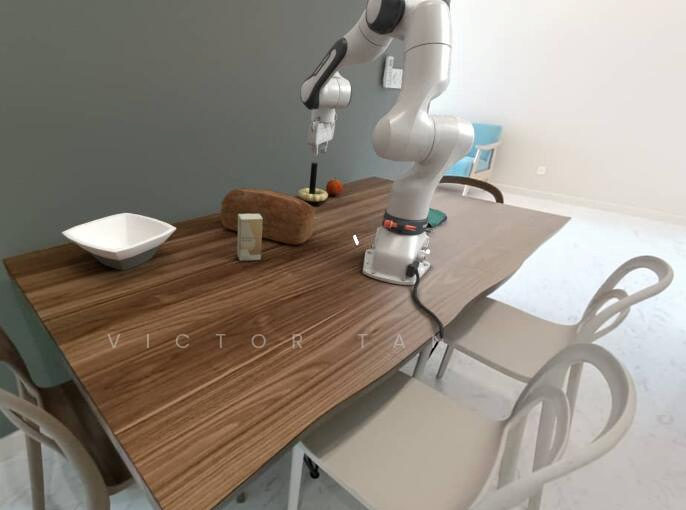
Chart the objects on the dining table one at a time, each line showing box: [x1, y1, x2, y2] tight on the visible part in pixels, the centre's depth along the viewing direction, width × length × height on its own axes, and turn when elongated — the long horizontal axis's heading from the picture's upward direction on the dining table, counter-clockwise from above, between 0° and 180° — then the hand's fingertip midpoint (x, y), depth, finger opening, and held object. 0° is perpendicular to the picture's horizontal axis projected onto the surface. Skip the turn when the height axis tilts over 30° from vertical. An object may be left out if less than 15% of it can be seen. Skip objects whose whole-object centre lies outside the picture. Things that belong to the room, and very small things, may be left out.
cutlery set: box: [425, 207, 448, 237], centre depth 146 cm, size 20×30×2 cm, turn 149°
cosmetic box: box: [236, 214, 263, 262], centre depth 108 cm, size 6×4×12 cm
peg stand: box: [297, 161, 326, 208], centre depth 156 cm, size 9×9×16 cm
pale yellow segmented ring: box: [297, 187, 329, 202], centre depth 159 cm, size 12×12×3 cm
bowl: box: [61, 212, 177, 271], centre depth 104 cm, size 22×23×8 cm
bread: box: [220, 187, 316, 246], centre depth 124 cm, size 12×31×14 cm, turn 65°
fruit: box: [325, 178, 344, 197], centre depth 168 cm, size 7×7×8 cm
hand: (319, 154), depth 155 cm, fingers open, 8 cm apart
